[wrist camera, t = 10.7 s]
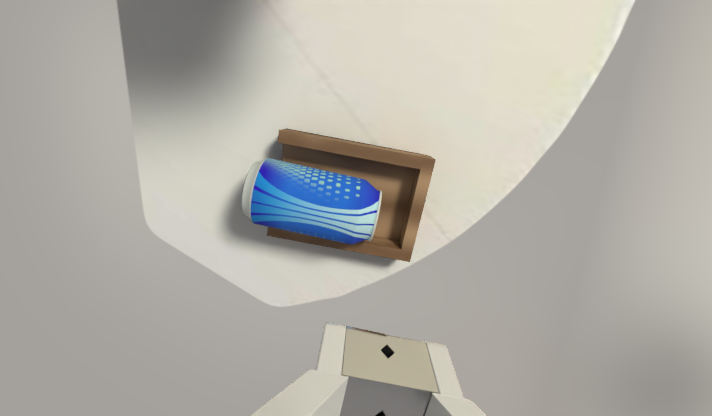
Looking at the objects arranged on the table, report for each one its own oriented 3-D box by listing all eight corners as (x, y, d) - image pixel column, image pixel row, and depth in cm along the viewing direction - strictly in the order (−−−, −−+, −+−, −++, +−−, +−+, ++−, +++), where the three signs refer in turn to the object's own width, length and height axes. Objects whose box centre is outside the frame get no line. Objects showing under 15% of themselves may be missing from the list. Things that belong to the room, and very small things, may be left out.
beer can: (235, 231, 39) (368, 260, 39) (242, 162, 36) (385, 194, 36) (258, 208, 47) (368, 232, 47) (266, 150, 44) (382, 176, 44)
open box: (286, 128, 44) (279, 130, 40) (429, 155, 44) (435, 159, 40) (275, 225, 48) (267, 235, 44) (406, 249, 48) (409, 261, 44)
